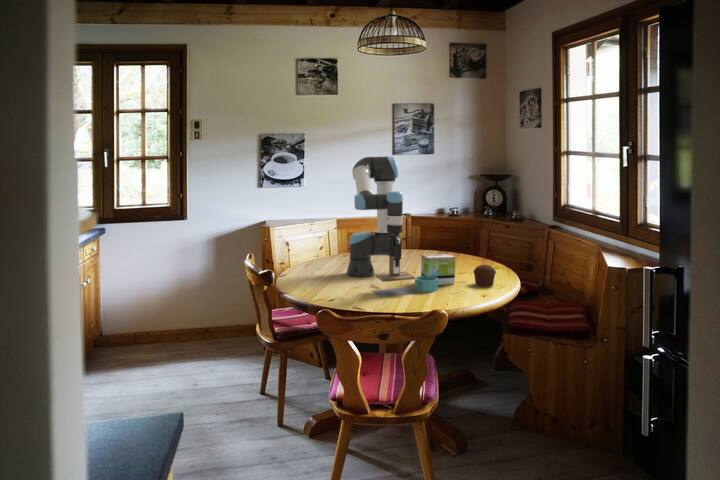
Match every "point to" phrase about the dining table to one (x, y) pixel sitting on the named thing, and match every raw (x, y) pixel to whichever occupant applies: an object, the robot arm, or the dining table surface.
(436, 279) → the teal bowl
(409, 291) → the charcoal mat
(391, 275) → the walnut lid
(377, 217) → the robot arm
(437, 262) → the tea box
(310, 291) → the dining table surface
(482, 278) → the muffin
